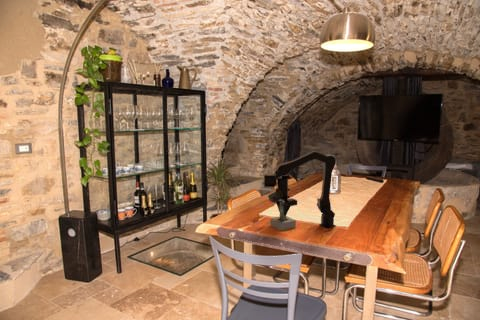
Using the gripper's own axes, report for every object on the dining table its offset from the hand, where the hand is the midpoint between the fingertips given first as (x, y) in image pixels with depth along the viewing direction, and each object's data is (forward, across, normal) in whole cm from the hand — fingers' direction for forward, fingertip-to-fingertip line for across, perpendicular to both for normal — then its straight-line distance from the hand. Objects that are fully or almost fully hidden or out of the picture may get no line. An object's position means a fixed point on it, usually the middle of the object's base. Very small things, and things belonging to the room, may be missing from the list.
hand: (282, 214), depth 177 cm
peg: (+3, 0, 0) cm, 3 cm away
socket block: (+7, 0, 0) cm, 7 cm away
